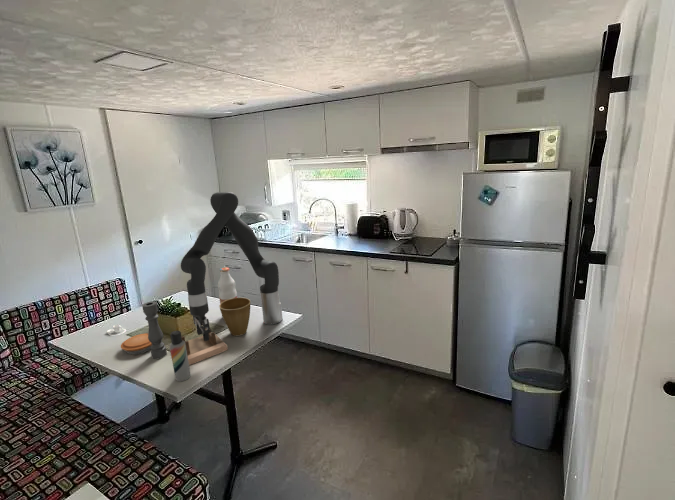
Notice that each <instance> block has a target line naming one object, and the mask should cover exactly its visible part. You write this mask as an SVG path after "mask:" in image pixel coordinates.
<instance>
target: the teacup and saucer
mask: <svg viewBox="0 0 675 500" xmlns="http://www.w3.org/2000/svg"><path fill="white" fill-rule="evenodd" d="M112 327H113V328H112V329H111V328H110V329H108V330H106V334H108V335H109V336H111V337H113V336H119V335H122V334H124V333H126V332H127V329H126V328H123V326H121V325H120V324H114V325H113V326H112ZM122 330H123V332H122Z"/></svg>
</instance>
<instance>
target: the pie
mask: <svg viewBox="0 0 675 500" xmlns="http://www.w3.org/2000/svg"><path fill="white" fill-rule="evenodd" d="M151 345H152V344H151V342H150V341H149V339H148V332H147V333H145V332H144V333H140V334H136V335H133V336H131V337H129V338H127V339H125V340H124V341H123V342H122V343H121V344H120V348H121V350H123V351H125V352H126V353H127V354H129V355H139V354H143V353H146V352H148V351H151Z"/></svg>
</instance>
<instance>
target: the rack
mask: <svg viewBox="0 0 675 500" xmlns="http://www.w3.org/2000/svg"><path fill="white" fill-rule="evenodd" d="M205 330H207V329H206V328H205ZM208 333H209V340H208V341H204V339H203V335H200V336H198V337H195V338H192V339H189V340H186V337H185V335H183V336H182V335H181V337H182V340H183V341H185V345H186V350H187V356H188V355H191V354H193V353H196V352H199V351H201V350H204V349H207V348H209V347H212V346H214V345H217V344H220V343H222V342H224V341H223V340H222V338H220V337H219V336H218V335H217V334H216V332H215V331H212V329H211V328H210V332H208Z"/></svg>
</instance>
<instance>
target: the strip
mask: <svg viewBox="0 0 675 500" xmlns="http://www.w3.org/2000/svg"><path fill="white" fill-rule="evenodd" d="M225 351H228V344H227V343H225V342H224V341H223V342H222V343H220V344H217V345H214V346H212V347H209V348H207V349H204V350H201V351H199V352H196V353H193V354H191V355H188V362H189V366H190V365H193V364H196V363H197V362H200V361H203V360H206V359H208V358H210V357H213V356H216V355H218V354H221V353H224V352H225Z"/></svg>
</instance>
